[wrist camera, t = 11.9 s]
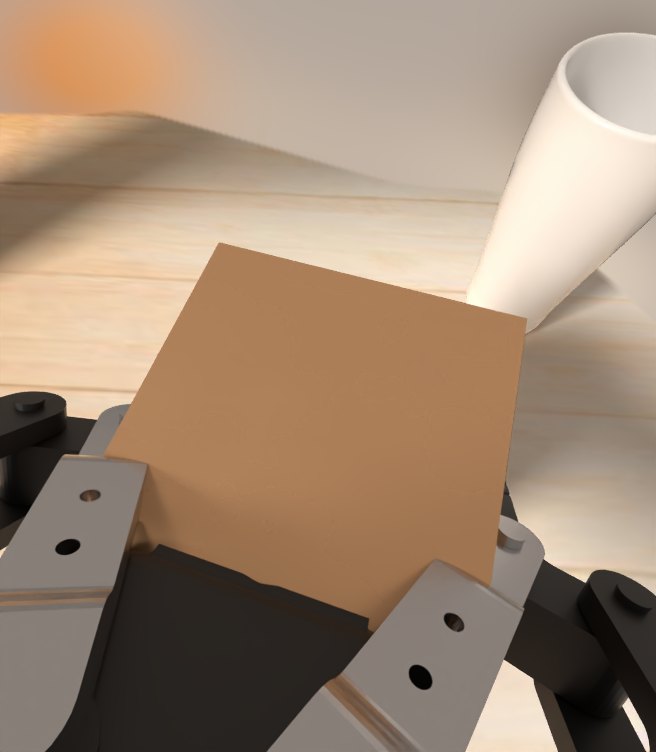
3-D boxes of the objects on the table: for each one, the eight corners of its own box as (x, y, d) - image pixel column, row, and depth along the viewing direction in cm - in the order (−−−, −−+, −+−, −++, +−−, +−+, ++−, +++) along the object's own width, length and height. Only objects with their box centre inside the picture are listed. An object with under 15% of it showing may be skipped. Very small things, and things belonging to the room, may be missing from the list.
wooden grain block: (219, 565, 15) (47, 556, 6) (277, 413, 17) (218, 242, 8) (382, 624, 14) (472, 716, 5) (420, 456, 17) (527, 318, 8)
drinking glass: (501, 368, 27) (670, 170, 14) (432, 297, 30) (519, 68, 16) (572, 316, 29) (787, 93, 15) (502, 253, 31) (633, 10, 18)
